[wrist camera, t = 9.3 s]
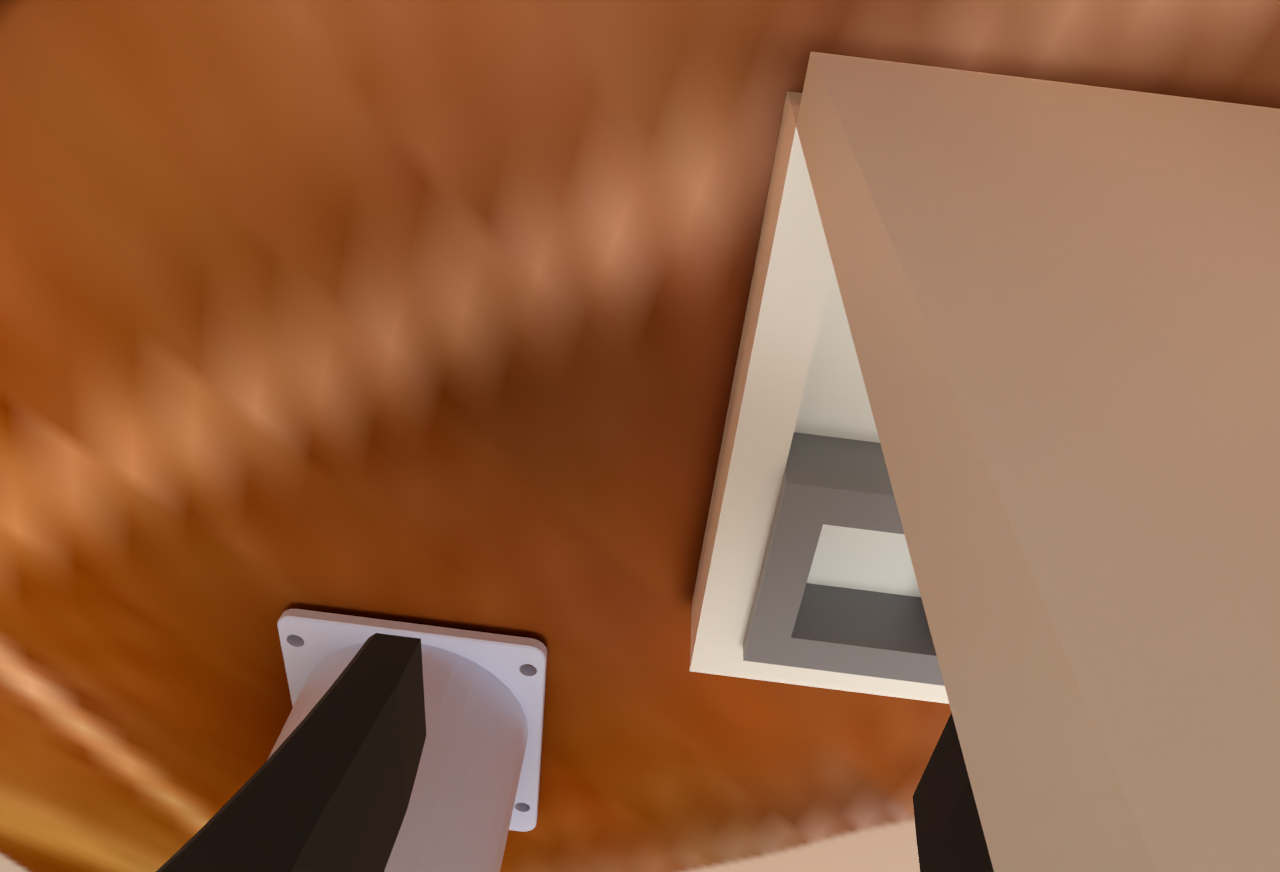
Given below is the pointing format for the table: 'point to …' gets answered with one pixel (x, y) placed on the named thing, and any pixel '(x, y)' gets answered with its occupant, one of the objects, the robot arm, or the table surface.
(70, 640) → the table surface
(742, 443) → the equipment case
